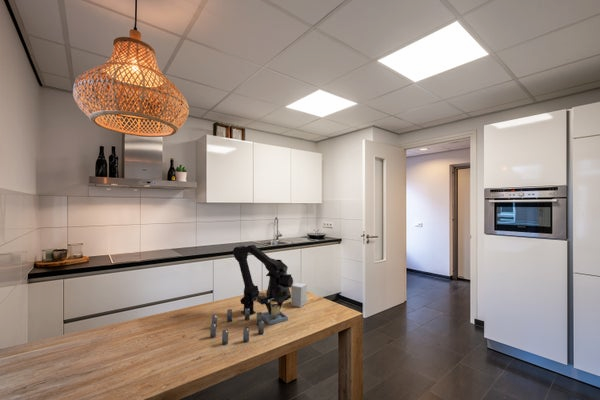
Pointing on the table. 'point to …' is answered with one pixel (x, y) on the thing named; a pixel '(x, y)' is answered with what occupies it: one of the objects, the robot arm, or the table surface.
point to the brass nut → (275, 310)
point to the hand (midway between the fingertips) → (274, 312)
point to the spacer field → (245, 330)
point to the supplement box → (299, 295)
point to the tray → (274, 318)
